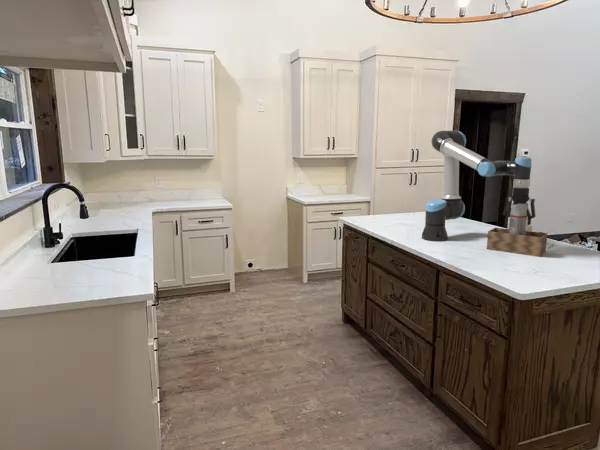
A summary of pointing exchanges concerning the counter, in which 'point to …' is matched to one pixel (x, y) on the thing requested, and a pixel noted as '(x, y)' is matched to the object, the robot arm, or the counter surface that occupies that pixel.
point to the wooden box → (517, 242)
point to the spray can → (518, 219)
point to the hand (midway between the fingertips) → (517, 229)
